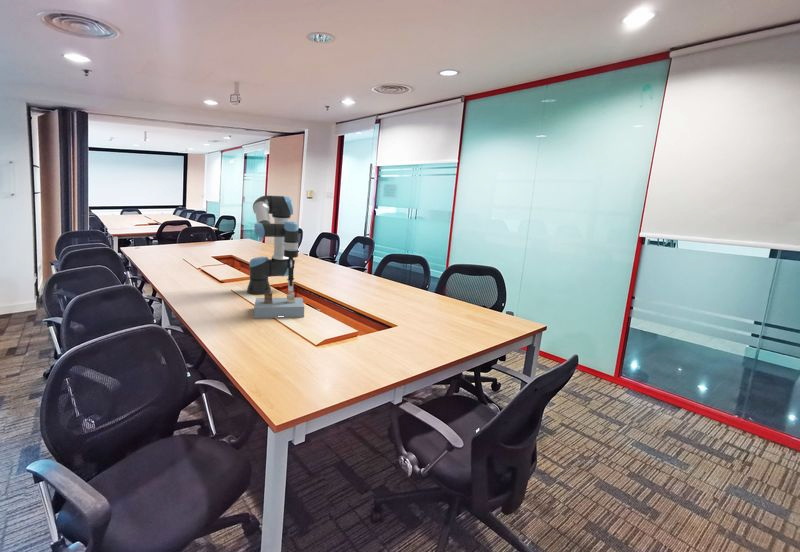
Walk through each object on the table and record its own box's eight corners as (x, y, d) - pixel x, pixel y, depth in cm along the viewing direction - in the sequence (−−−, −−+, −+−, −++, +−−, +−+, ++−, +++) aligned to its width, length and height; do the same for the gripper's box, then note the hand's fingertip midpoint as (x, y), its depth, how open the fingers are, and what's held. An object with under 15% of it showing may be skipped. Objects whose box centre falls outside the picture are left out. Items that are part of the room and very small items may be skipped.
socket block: (256, 308, 231) (256, 298, 229) (302, 307, 238) (302, 297, 237) (254, 318, 212) (254, 307, 211) (304, 317, 219) (304, 306, 218)
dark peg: (264, 303, 224) (264, 292, 222) (272, 303, 225) (272, 292, 224) (264, 305, 220) (264, 294, 219) (272, 305, 221) (272, 294, 220)
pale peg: (286, 302, 227) (286, 292, 226) (294, 302, 228) (294, 292, 227) (286, 304, 223) (286, 294, 222) (294, 304, 224) (294, 294, 223)
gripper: (283, 248, 225) (283, 288, 229) (284, 251, 213) (283, 294, 217) (297, 248, 227) (297, 288, 231) (298, 251, 215) (298, 293, 219)
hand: (290, 291), depth 224 cm, fingers closed
